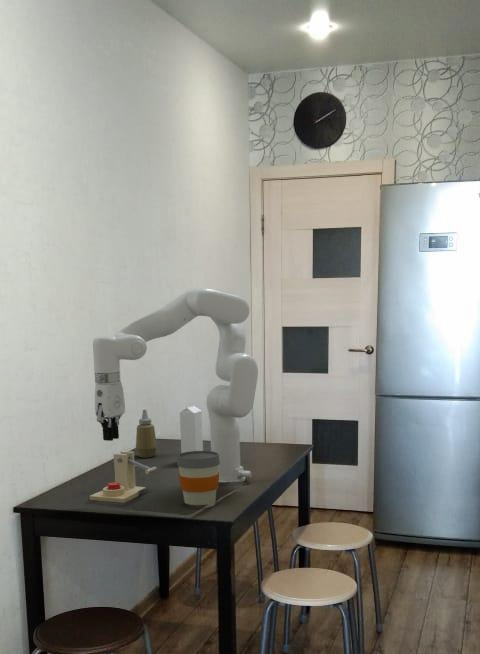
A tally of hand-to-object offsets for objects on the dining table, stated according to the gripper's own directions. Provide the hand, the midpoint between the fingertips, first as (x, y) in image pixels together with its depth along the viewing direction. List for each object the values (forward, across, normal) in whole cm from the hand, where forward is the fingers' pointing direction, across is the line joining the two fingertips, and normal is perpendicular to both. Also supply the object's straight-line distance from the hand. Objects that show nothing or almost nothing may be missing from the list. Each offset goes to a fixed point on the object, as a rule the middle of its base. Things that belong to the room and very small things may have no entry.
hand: (111, 438), depth 255 cm
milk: (+19, +57, +2) cm, 60 cm away
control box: (+19, 0, 0) cm, 19 cm away
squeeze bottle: (+19, +62, +24) cm, 69 cm away
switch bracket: (+19, +10, +2) cm, 22 cm away
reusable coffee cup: (+19, +4, -27) cm, 33 cm away
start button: (+16, 0, 0) cm, 16 cm away
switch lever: (+11, +10, -2) cm, 15 cm away
